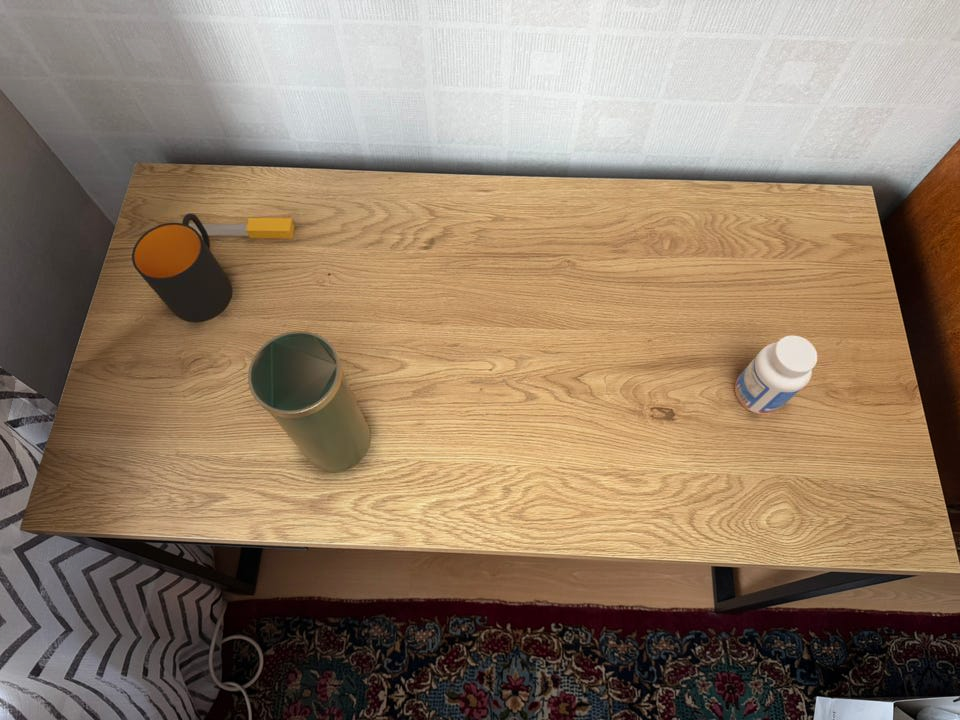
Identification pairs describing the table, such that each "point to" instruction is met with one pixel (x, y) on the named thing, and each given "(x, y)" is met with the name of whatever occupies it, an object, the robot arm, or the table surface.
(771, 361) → the pill bottle
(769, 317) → the table surface
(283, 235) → the knife
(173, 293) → the mug
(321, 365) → the canister
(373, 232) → the table surface
